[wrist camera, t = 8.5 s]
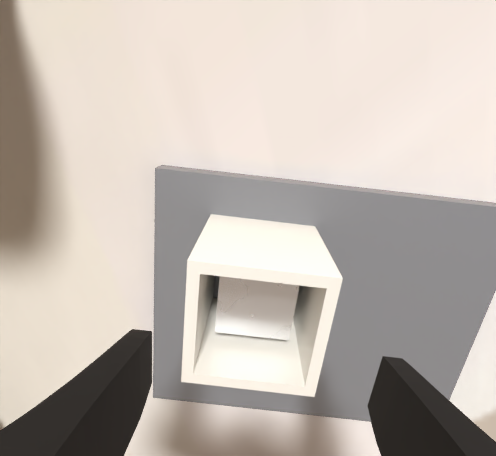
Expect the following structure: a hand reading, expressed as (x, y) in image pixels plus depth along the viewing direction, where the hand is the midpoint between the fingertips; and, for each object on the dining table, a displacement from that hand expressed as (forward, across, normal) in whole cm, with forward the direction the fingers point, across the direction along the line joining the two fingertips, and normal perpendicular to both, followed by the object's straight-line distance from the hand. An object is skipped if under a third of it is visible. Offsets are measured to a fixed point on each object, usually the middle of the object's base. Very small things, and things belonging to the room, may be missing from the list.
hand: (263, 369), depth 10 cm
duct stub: (+10, 0, +1) cm, 10 cm away
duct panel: (+10, -4, +4) cm, 11 cm away
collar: (+9, 0, +1) cm, 9 cm away
